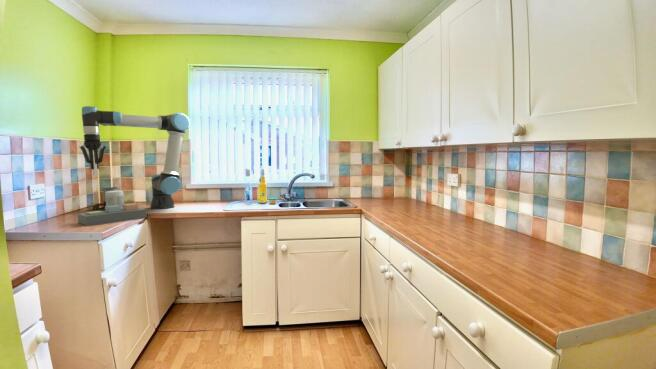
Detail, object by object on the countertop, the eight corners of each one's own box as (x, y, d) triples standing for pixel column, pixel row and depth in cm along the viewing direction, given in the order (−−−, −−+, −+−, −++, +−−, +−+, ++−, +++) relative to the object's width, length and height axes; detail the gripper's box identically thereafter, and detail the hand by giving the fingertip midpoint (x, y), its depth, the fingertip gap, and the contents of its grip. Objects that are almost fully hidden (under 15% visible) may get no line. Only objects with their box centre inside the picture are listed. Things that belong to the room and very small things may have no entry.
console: (136, 215, 212) (136, 207, 212) (146, 217, 203) (146, 209, 203) (78, 222, 189) (77, 213, 189) (86, 226, 180) (85, 216, 180)
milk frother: (118, 210, 232) (117, 188, 231) (90, 212, 225) (88, 189, 224) (120, 207, 245) (119, 186, 244) (94, 209, 238) (92, 187, 237)
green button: (99, 217, 194) (99, 210, 193) (103, 219, 190) (102, 211, 189) (86, 219, 189) (86, 212, 189) (90, 220, 185) (90, 213, 185)
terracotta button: (133, 209, 207) (133, 203, 207) (138, 210, 203) (137, 204, 203) (122, 211, 203) (122, 204, 202) (126, 212, 199) (126, 205, 198)
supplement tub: (123, 213, 219) (122, 190, 218) (126, 215, 212) (125, 191, 211) (105, 215, 213) (104, 191, 212) (107, 217, 206) (106, 192, 205)
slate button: (117, 211, 200) (116, 205, 200) (121, 213, 196) (120, 205, 196) (105, 213, 196) (104, 206, 195) (109, 214, 192) (108, 207, 192)
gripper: (101, 134, 208) (105, 173, 210) (76, 134, 197) (80, 175, 200) (106, 133, 203) (110, 174, 206) (80, 133, 193) (84, 176, 195)
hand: (95, 174), depth 203 cm, fingers closed
